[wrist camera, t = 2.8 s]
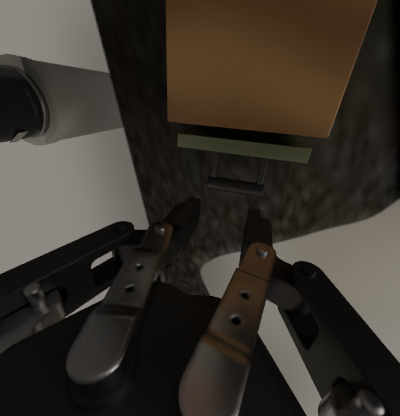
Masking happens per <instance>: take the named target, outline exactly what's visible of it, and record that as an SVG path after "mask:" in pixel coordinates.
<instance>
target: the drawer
mask: <svg viewBox="0 0 400 416" xmlns="http://www.w3.org/2000/svg"><path fill="white" fill-rule="evenodd" d="M178 147H185V148H193V149H200V150H208V151H213V155H212V166H211V176H209V178H208V183H207V187H208V188H210V189H216V190H222V191H228V192H234V193H240V194H246V195H252V196H258V197H261V196H262V194H263V189H264V184H263V180H264V175H265V171H266V167H267V162H268V158H270V159H277V160H285V161H293V162H301V163H307V162H308V159H309V156H310V153H311V150H312V149H311V148H310V147H309V146H308V145H307V144H306V143H305V142H304V140H303V139H302V138H301V137H300V136H295V135H286V134H276V133H267V132H257V131H248V130H238V129H228V128H219V127H209V126H200V125H197V126H195V127H192V128H190V129H187V130H185V131H182V132H180V133H178ZM219 152H223V153H231V154H239V155H247V156H254V157H262V160H261V164H260V169H259V174H258V178H257V183H253V182H246V181H240V180H233V179H227V178H221V177H216V176H217V168H218V159H219Z"/></svg>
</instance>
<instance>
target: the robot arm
mask: <svg viewBox="0 0 400 416" xmlns="http://www.w3.org/2000/svg"><path fill="white" fill-rule="evenodd" d="M49 124H50V114H49V108H48V105H47V102H46V99H45V97H44V95H43V93H42V91H41V89H40V88H39V86H38V85H37V84H36V82H35V81H34V80H33V79H32V78H31V77H30V76H29V75H28V74H27V73H26V72H24V71H23V70H21V69H19V68H17V67H15V66H9V65H0V142H6V141H11V142H16V141H19V140H20V139H25V138H35V137H40V136H42V135H44V134H45V133H46V132H47V130H48V128H49ZM199 216H200V199H198V198H193V197H189V198H188V199H187V201H186V202H185V203H182V202H181V203H179V204H177V205H175V206H174V207H173V209H172V210H171V211H170V213H169V214H168V215H167V216H166V217H165V218H164V220H163V221H162V222H156V223H153V224H151V225H150V226H149V227H148V229H147V230H134V225H133V224H132V223H130V222H126V221H120V222H116V223H113V224H111V225H109V226H107V227H104V228H102V229H100V230H98V231H95V232H93V233H91V234H89V235H86V236H84V237H82V238H80V239H78V240H75V241H73V242H71V243H69V244H66V245H64V246H62V247H60V248H58V249H55V250H53V251H51V252H49V253H46V254H44V255H42V256H40V257H38V258H35V259H33V260H31V261H29V262H26V263H24V264H22V265H20V266H17V267H15V268H13V269H11V270H9V271H6V272H4V273H2V274H0V416H306V414H305V412H304V411H303V409H302V407H301V405H300V404H299V402H298V400H297V399H296V397H295V395H294V394H293V392H292V390H291V389H290V387H289V385H288V384H287V382H286V380H285V378H284V377H283V375H282V373H281V372H280V370H279V368H278V367H277V365H276V363H275V362H274V360H273V358H272V356H271V355H270V353H269V351H268V350H267V348H266V346H265V345H264V343H263V341H262V340H261V338H260V336H259V334H258V330H259V326H260V322H261V318H262V314H263V310H264V306H265V302H266V299H267V300H269V301H270V302H272V303H274V304H276V305H277V306H278V310H279V312H280V314H281V316H282V318H283V320H284V322H285V324H286V326H287V329H288V331H289V333H290V335H291V337H292V339H293V341H294V343H295V345H296V347H297V349H298V351H299V353H300V355H301V357H302V360H303V362H304V364H305V366H306V368H307V370H308V372H309V374H310V376H311V378H312V380H313V382H314V384H315V386H316V388H317V390H318V392H319V394H320V396H321V398H322V400H321V401H320V404H319V407H318V414H319V416H400V363H399V362H398V361H397V359H396V358H395V357H394V356H393V355H392V353H391V352H390V351H389V350H388V349H387V348H386V346H385V345H384V344H383V343H382V342H381V340H380V339H379V338H378V337H377V336H376V335H375V333H374V332H373V331H372V330H371V328H370V327H369V326H368V325H367V324H366V322H365V321H364V320H363V319H362V318H361V317H360V315H359V314H358V313H357V312H356V311H355V309H354V308H353V307H352V306H351V305H350V303H349V302H348V301H347V300H346V299H345V297H344V296H343V295H342V294H341V293H340V291H339V290H338V289H337V288H336V287H335V286H334V284H333V283H332V282H331V281H330V280H329V278H328V277H327V276H326V275H325V274H324V272H323V271H322V270H321V269H320V268H319V267H317V266H315V265H314V264H312V263H309V262H305V261H298V262H295V263H294V264H293V265H291V264H289V263H286V262H284V261H282V260H281V259H279V258H278V257H277V256H276V252H275V250H274V249H273V245H272V230H271V223H270V222H269V220H268V219H266V218H261V217H260V210H259V209H253V208H249V210H248V215H247V220H246V224H245V229H244V235H243V241H242V248H241V255H240V262H239V269H238V268H236V270H235V272H234V274H233V276H232V278H231V280H230V282H229V284H228V287H227V289H226V291H225V293H224V295H223V297H222V299H221V298H218V297H214V296H202V295H188V294H186V293H184V292H183V291H181V290H179V289H177V288H176V287H174V286H172V285H170V284H169V280H170V276H171V272H172V268H173V261H174V259H175V257H178V258H182V256H183V254H184V252H185V250H186V248H187V246H188V244H189V242H190V240H191V238H192V236H193V234H194V232H195V230H196V228H197V226H198V223H199ZM110 251H112V255H113V257H112V258H110V259H108V260H107V261H105V262H103V263H101V264H100V265H98V266H96V267H94V268H93V269H91V265H92V263H93V262H94V261H95V260H96V259H97V258H99V257H101V256H103V255H105V254H107V253H108V252H110ZM110 286H111V287H110ZM108 287H110V288H109V290H108V292H107V294H106V296H105V298H104V299H103V300H101V301H99V302H97V303H95V304H93V305H91V306H89V307H87V308H85V309H83V310H81V311H79V312H77V313H75V314H73V315H71V316H69V317H67V318H65V317H66V316H67V315H69V314H70V313H72V312H73V311H75V310H76V309H78V308H79V307H80V306H82V305H84V304H85V303H86V302H88V301H89V300H91V299H92V298H94V297H95V296H97V295H98V294H99V293H101V292H102V291H104V290H106V289H107V288H108ZM64 318H65V319H64Z"/></svg>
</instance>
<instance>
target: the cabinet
mask: <svg viewBox="0 0 400 416" xmlns="http://www.w3.org/2000/svg"><path fill="white" fill-rule="evenodd" d="M376 3H377V0H166V55H167V120H168V122H176V123H186V124H195V125H205V126H215V127H224V128H234V129H244V130H253V131H263V132H272V133H282V134H292V135H301V136H311V137H320V138H328V136H329V133H330V131H331V128H332V125H333V122H334V120H335V117H336V114H337V111H338V108H339V106H340V103H341V100H342V97H343V95H344V92H345V89H346V86H347V83H348V81H349V78H350V75H351V72H352V70H353V67H354V64H355V61H356V58H357V56H358V53H359V50H360V47H361V45H362V42H363V39H364V36H365V33H366V31H367V28H368V25H369V22H370V19H371V17H372V14H373V11H374V8H375V6H376Z"/></svg>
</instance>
